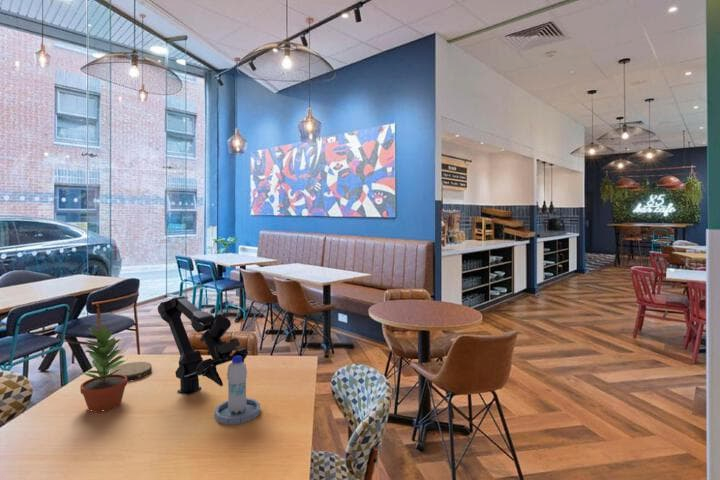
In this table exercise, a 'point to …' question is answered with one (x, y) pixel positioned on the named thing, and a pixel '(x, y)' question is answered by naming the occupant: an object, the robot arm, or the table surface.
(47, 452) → the table surface
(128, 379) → the wood slice
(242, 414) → the bowl
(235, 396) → the bottle
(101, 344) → the potted plant
